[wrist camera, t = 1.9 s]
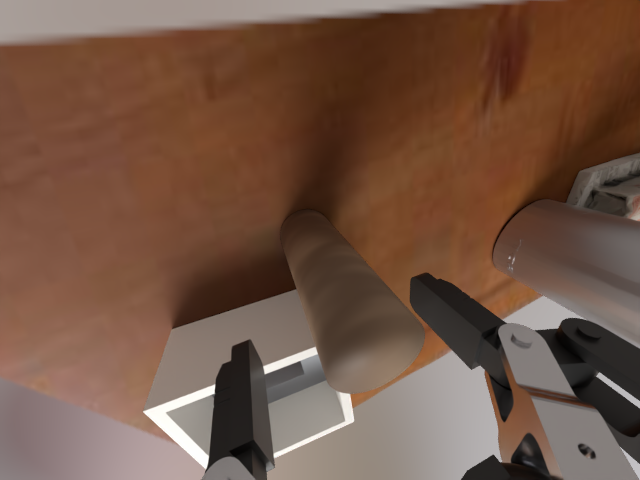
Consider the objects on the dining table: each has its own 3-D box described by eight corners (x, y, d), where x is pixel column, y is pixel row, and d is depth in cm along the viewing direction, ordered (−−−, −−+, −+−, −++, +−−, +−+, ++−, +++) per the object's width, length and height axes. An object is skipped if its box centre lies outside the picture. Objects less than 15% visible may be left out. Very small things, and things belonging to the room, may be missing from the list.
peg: (326, 203, 17) (429, 299, 8) (332, 248, 19) (421, 368, 10) (274, 216, 16) (317, 341, 7) (286, 261, 18) (333, 407, 9)
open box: (315, 282, 20) (340, 337, 15) (332, 362, 26) (354, 421, 21) (171, 329, 18) (142, 411, 13) (225, 405, 24) (220, 482, 19)
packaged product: (758, 140, 23) (694, 225, 28) (680, 138, 28) (636, 212, 32) (641, 178, 20) (591, 267, 25) (573, 169, 24) (542, 247, 29)
